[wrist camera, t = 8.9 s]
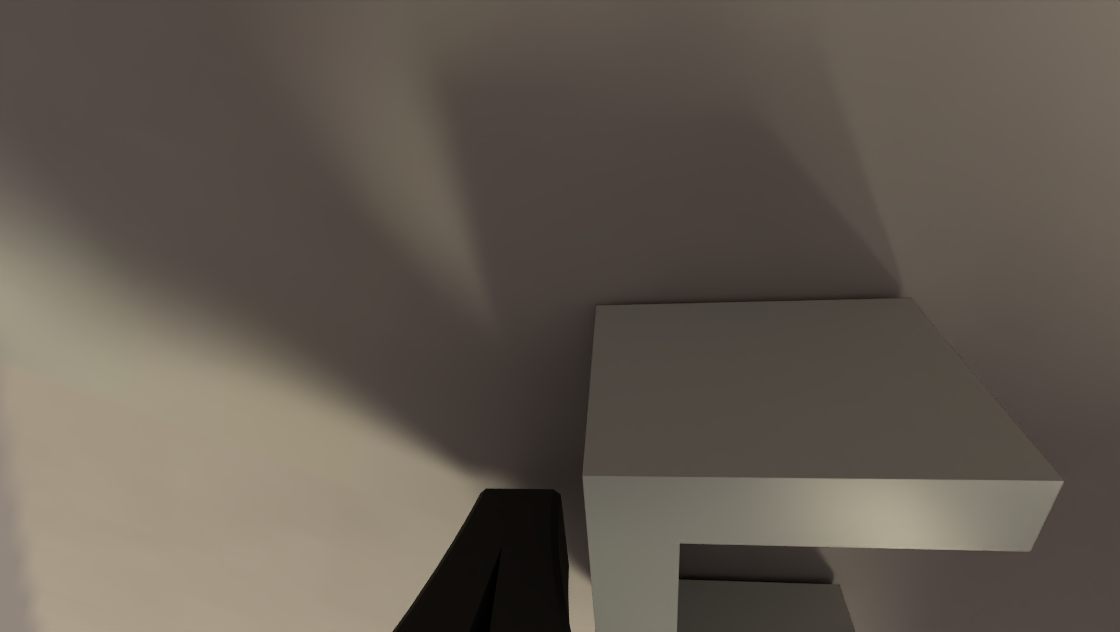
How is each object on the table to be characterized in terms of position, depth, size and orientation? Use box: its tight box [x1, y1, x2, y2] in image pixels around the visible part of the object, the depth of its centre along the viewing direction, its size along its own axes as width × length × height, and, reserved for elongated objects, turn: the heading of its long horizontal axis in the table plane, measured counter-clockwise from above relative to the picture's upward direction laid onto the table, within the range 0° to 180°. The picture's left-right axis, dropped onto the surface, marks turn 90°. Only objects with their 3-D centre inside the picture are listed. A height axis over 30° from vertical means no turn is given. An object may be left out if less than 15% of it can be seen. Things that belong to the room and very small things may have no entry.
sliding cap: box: [582, 298, 1064, 632], centre depth 9 cm, size 8×4×4 cm, turn 5°
